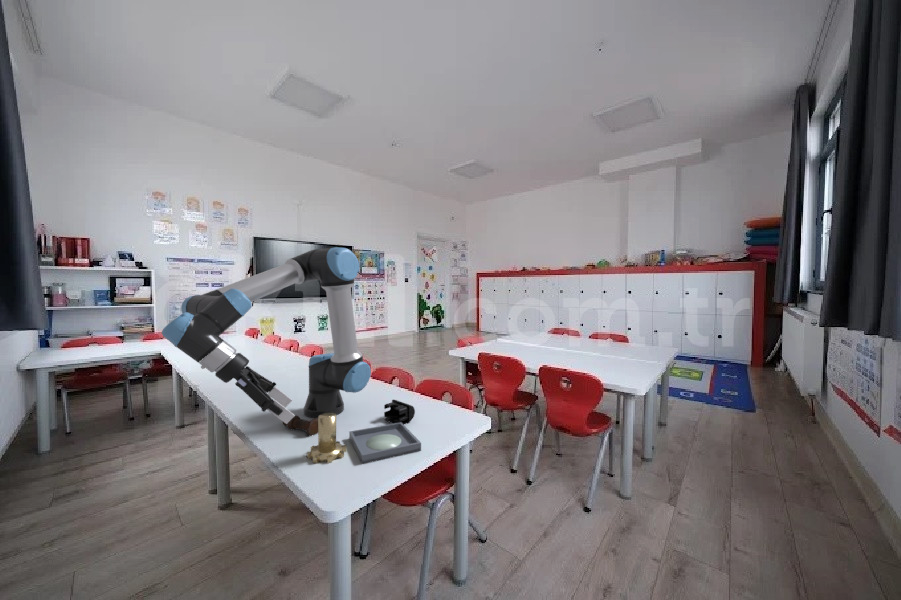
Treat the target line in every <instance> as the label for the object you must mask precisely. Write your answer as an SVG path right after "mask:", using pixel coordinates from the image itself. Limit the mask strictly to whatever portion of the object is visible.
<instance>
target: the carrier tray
mask: <svg viewBox="0 0 901 600" xmlns="http://www.w3.org/2000/svg"><path fill="white" fill-rule="evenodd" d="M348 433H349V434H348V435H349V437H348V439H349V441H350V443H351V444H352V447H353V449H354V451H355V453H356V454H357V457H358V458H359V460H360V463H361V465H363V464H368V463H373V462H376V460H377V461H381V459H382V460H386V459H390V457H391V458H394V457H393V456H395V457H398V456H403V454H404V455H407V454H411V453H412V454H413V453H417V452H420V451H422V442H421V441H420V440H419V439H418V438H417V437H416V436H415V435H414V434H413V432H412V431H410V430H409V428H407V426H406V425H403V423H402V422H400V423H394V424H393V423H390V424H389V423H388V424H384V425H377V426H372V427H366V428H361V429H356V430H355V429H354V430H350V431H348ZM385 458H386V459H385ZM372 461H373V462H372Z"/></svg>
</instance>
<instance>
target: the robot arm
mask: <svg viewBox="0 0 901 600" xmlns="http://www.w3.org/2000/svg"><path fill="white" fill-rule="evenodd" d="M359 272H360V264H359V260H358V258H357V256H356V254H355V253H354V252H353V251H352V250H350V249H348V248H346V247H337V246H335V247H328V248H327V247H325V248H315V249H312V250H309V251H306V252H303V253H301V254H299V255H296V256H294V257H291V258H289V259H287V260H285V262H284V263H283V264H281V265H279V266H276V267H273V268H271V269H270V268H269V269H268V270H265V271H262V272H260V273H257V274H254V275H251V276H249V277H246V278H244V279H241V280H238V281H235V282H232V283H230V284H227V285H225V286H222V287H219V288H217V289H215V290H211V291H209V292H205V293H203V294H194V295H191V296H189V297H187V298H184V300H183V302H182V303H181V305H180V310H181V314H180V315H178V316H176V318H174V319H172V321H170V322H169V323H168V324H167V325H166V326H165V327H164V328H163V329H162V330H161V335H162V336H163V337H164V338H165V339H166V340H167V341H168V342H170V344H172V345H173V347H176V348H177V349H178V350H180V351H181V352H183V353H184V354H185V355H186V356H188V357H190V358H191V359H192V360H194V361H195V362H196V363H198V364H199V365H201V366H200V368H201V369H202V370H204V369H206V371H207V370H208V371H209V372H210V373H214V374H215V375H214V376H215V377H216V378H218V379H219V380H220V381H222V382H223V383H226V384H227V383H229V382H231V381H232V380H233V379H234V380H235V381H236V382H235V386H236V387H238V388H239V389H240V390H242V392H244V393H245V394H246V396H247V397H249V398H250V400H252V401H253V402H254V403H255V404H256V405H257V406H258V407H259V408H261V411H262V412H263V413H265V412H266V411H268V412H270V414H272V415H273V416H275V417H276V418H278V419H279V420H280V421H281V422H282V421H283V422H284V423H286V424H287V423H288V422H289V421H290V420H291V419H292V418H293V417H294V416H295V414H294V413H293V412H292V411H290V410H289V409H288V408H287V406H288V405H289V404H291V403H292V402H293V399H292V398H291V397H289V396H288V395H287V394H286V393H284V392H283V391H281V390H280V389H279V388H277V387H276V386H277V383H276V382H275V381H273V382H272V381H271V380H269V379H268V378H266V377H264V375H261V374H260V373H258V372H257V371H255V370H254V369H252V368H251V367H250V366H248V364H249V363H250V359H248V358H247V357H246V356H244V355H243V354H242V353H241V352H237V349H236V348H235V347H234V346H232V345H231V344H229V343H228V342H227V341H226V340H224V339H223V338H222V337H221V335H223V334H224V332H225V331H227V330H228V329H229V328H230V327H232V326H233V325H234V324H236V322H238V321H239V320H240V319H241V318H242V317H245V315H246V313H248V312H249V311H250V310H251V309H252V307H253V304H252V302H255V301H258V300H259V299H262V298H264V297H267V296H269V295H271V294H273V293H276V292H278V291H280V290H283V289H284V288H287V287H289V286H292V285H294V284H296V285H302V284H303V283H306V282H312V281H319V282H320V288H322V289H323V290H324V291H325V292H326V293H325V294H326V301H327V306H328V308H327V309H328V316H329V323H330V331H331V340H332V346H333V352H330V353H323V354H317V355H312V356H311V357H310V358H309V359H308V394H307V398H306V401H305V403H304V407H303V415H304V416H305V417H308V418H313V419H314V418H317V419H318V417H319V415H321V414H324V413H335V414H336V416H337V415H339V414H342V412H343V411H344V410H345V403H344V401H343V399H344V398H343V397H342V394H341V391H343V392H346V393H353V394H355V393H359V392H362V391H363V389H364V388H366V386H367V385H368V383H369V381H370V378H371V376H372V375H371V374H372V370H371V366H370V365H369V364H368V363H367V362H365V361H364V358H363V357H364V355H363V353H362V352H361V351H360V350H359V349H358V341H357V334H356V333H357V331H356V325H355V324H356V323H355V315H354V306H353V299H352V298H353V297H352V291H351V288H352V287H353V286H354V284H355V280H354V279H356V278H357V277H358V273H359Z"/></svg>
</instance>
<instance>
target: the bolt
mask: <svg viewBox="0 0 901 600" xmlns="http://www.w3.org/2000/svg"><path fill="white" fill-rule="evenodd" d="M294 415H295V414H294ZM281 422H282V425H283V426H285V427H287V428H288V429H289V430H290V429H292V430H291V431H294V430H301V431H305V432H306V434H307V435H308V436H309V435H310V436H309V437H312V435H313V436H315V435H318V418H314V417H313V418H312V419H310V420H308V419H301V417H300V415H297V414H296V415H295V416H294V417H293V418H292V419H291V420H290V421H289V422H288V423H287V424H286V423H284V422H283V421H282V420H281ZM296 428H297V429H296ZM293 429H294V430H293Z"/></svg>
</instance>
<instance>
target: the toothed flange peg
mask: <svg viewBox="0 0 901 600" xmlns="http://www.w3.org/2000/svg"><path fill="white" fill-rule="evenodd" d="M317 419H318V433H317V435H318V437H317V440H318V442H317V443H318V444H317V445H312V446H310V451H307V452H306V453H307V454H306V457H307V460H312V463H313V464H318V463H326V462H327V464H330V463H333V461H335V460H337V459H343V458H344V457H345V452H347V444H342V443H341V441H337V415H336V414H335V413H324V414H321V415H319V417H318V418H317Z"/></svg>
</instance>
